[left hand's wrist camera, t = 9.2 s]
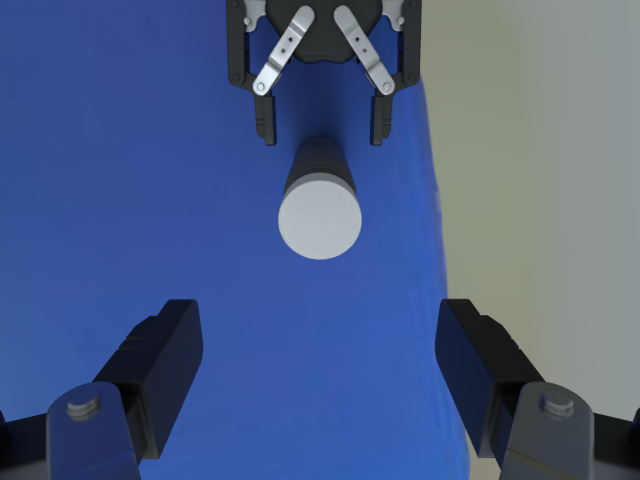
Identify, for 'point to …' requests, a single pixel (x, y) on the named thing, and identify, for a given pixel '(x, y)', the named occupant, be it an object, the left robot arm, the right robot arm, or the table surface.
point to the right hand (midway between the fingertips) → (323, 144)
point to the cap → (320, 216)
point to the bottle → (319, 161)
